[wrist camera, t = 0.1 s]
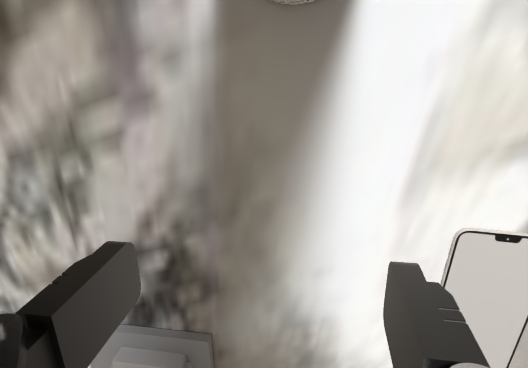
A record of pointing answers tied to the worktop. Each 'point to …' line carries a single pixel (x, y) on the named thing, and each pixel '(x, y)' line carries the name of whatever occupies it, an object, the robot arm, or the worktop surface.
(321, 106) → the worktop surface
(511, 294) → the smartphone
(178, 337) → the power strip
